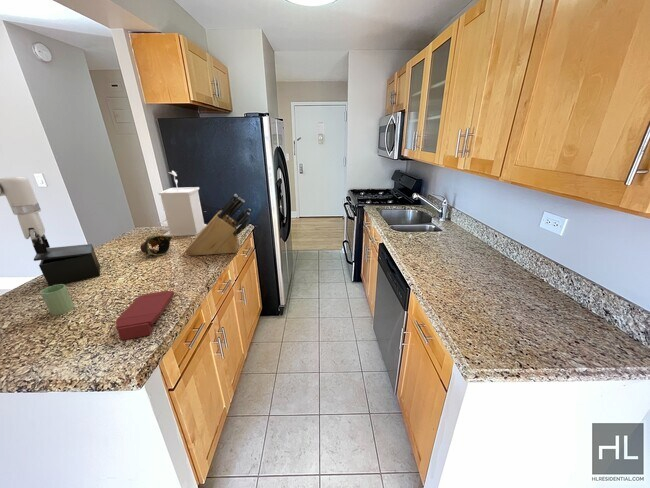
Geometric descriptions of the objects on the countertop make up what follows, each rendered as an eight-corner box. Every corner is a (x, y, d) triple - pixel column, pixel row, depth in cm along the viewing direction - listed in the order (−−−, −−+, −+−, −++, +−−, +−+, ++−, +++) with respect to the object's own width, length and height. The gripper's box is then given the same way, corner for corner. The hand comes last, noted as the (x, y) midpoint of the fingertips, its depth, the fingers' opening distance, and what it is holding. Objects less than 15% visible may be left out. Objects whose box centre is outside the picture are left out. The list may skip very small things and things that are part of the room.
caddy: (49, 288, 109) (38, 265, 105) (53, 276, 119) (43, 254, 115) (100, 275, 119) (92, 254, 115) (99, 265, 129) (92, 245, 124)
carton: (142, 306, 103) (112, 341, 80) (139, 294, 102) (108, 327, 78) (176, 300, 106) (157, 333, 83) (174, 289, 105) (154, 319, 82)
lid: (33, 261, 104) (30, 249, 102) (39, 250, 113) (36, 239, 112) (91, 254, 115) (89, 243, 113) (92, 245, 124) (90, 235, 123)
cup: (46, 317, 91) (35, 295, 88) (56, 306, 97) (46, 286, 94) (69, 312, 94) (59, 291, 90) (77, 303, 99) (68, 282, 96)
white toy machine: (159, 236, 166) (142, 172, 151) (177, 223, 191) (164, 167, 176) (198, 235, 168) (185, 171, 153) (210, 222, 193) (200, 167, 178)
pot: (153, 230, 150) (167, 225, 140) (166, 245, 155) (182, 241, 145) (126, 249, 138) (140, 245, 128) (142, 264, 144) (156, 262, 134)
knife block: (253, 252, 142) (247, 196, 131) (185, 257, 137) (172, 199, 126) (255, 244, 153) (249, 192, 141) (192, 248, 148) (180, 194, 136)
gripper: (17, 206, 107) (34, 246, 113) (6, 215, 94) (26, 259, 101) (42, 203, 111) (58, 242, 118) (36, 212, 99) (53, 255, 106)
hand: (43, 250), depth 109 cm, fingers closed on lid, 6 cm apart
